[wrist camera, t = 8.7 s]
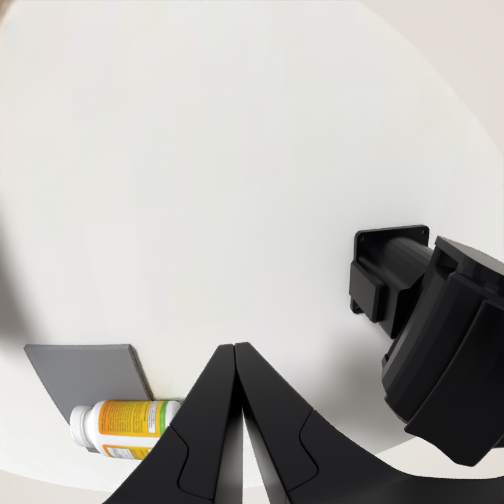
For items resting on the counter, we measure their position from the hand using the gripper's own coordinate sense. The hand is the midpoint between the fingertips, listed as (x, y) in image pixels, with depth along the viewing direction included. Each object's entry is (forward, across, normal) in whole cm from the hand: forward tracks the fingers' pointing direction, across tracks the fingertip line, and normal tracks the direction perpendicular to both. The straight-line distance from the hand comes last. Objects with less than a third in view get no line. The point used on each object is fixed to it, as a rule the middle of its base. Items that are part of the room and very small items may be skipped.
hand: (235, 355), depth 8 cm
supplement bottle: (+9, +5, +15) cm, 18 cm away
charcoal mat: (+12, +14, +16) cm, 24 cm away
